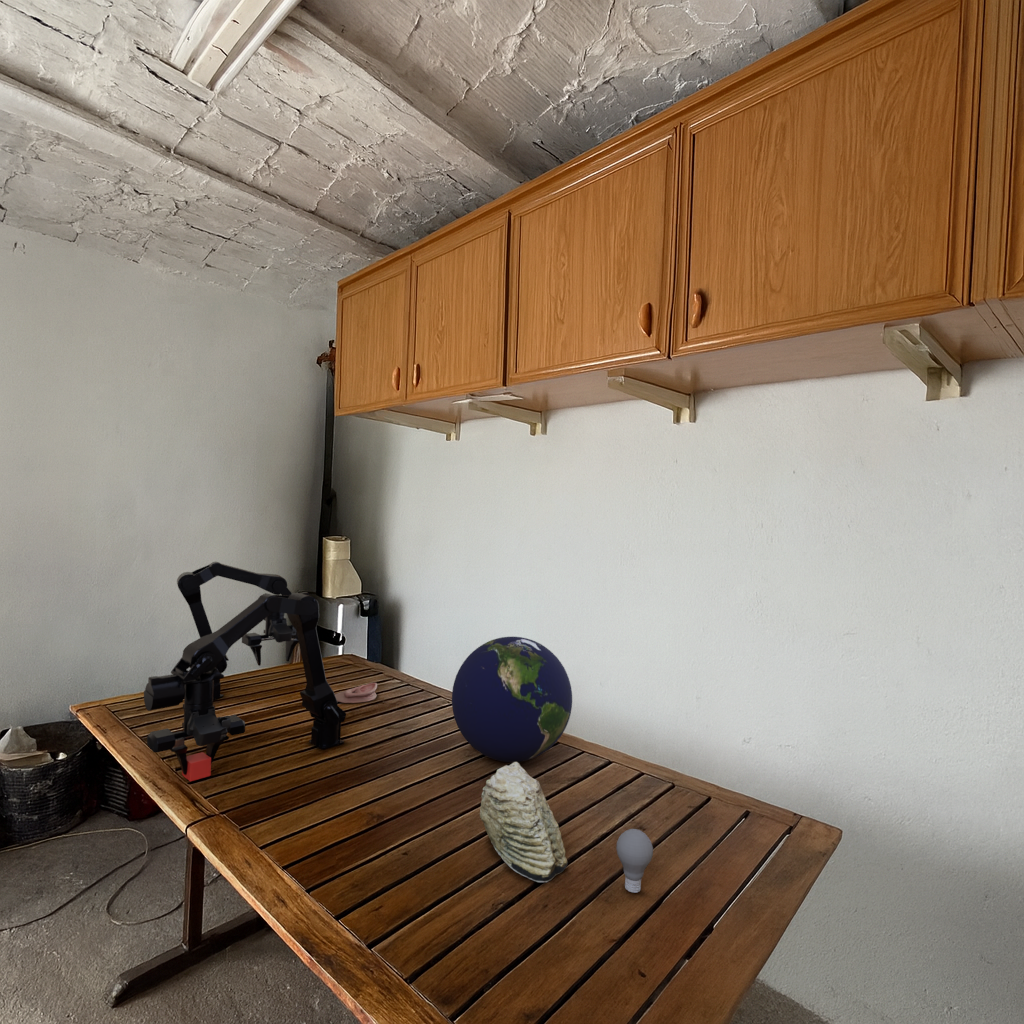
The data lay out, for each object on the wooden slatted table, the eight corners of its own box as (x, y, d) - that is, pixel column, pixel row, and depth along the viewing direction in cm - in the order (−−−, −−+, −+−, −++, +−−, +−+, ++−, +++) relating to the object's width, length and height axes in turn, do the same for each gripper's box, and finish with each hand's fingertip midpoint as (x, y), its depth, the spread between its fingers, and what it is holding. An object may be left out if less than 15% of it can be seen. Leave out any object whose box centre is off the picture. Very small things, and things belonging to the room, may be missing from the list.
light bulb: (610, 879, 108) (613, 822, 108) (644, 879, 109) (647, 822, 109) (619, 902, 102) (622, 840, 102) (655, 901, 103) (658, 840, 103)
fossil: (501, 827, 124) (504, 751, 124) (575, 868, 111) (578, 784, 111) (467, 843, 118) (470, 763, 118) (541, 889, 105) (545, 799, 105)
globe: (497, 727, 179) (502, 621, 178) (591, 755, 161) (596, 638, 161) (424, 759, 155) (429, 637, 154) (524, 797, 137) (530, 659, 137)
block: (190, 781, 136) (190, 763, 136) (181, 775, 139) (182, 757, 139) (210, 775, 140) (211, 757, 140) (202, 769, 143) (202, 751, 143)
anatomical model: (326, 688, 195) (343, 678, 206) (325, 700, 195) (343, 690, 206) (366, 692, 192) (381, 682, 203) (365, 705, 192) (381, 694, 203)
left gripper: (256, 621, 190) (254, 673, 190) (314, 615, 203) (312, 664, 203) (241, 615, 198) (240, 665, 198) (298, 610, 211) (297, 657, 211)
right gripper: (163, 720, 127) (160, 797, 127) (256, 702, 140) (253, 772, 140) (147, 705, 135) (145, 778, 135) (236, 689, 148) (234, 756, 148)
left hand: (273, 663), depth 202 cm, fingers open, 9 cm apart
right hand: (196, 771), depth 139 cm, fingers closed on block, 4 cm apart
